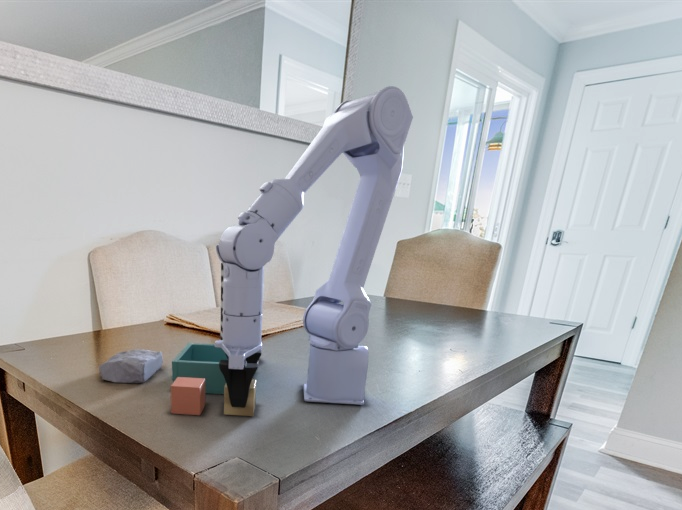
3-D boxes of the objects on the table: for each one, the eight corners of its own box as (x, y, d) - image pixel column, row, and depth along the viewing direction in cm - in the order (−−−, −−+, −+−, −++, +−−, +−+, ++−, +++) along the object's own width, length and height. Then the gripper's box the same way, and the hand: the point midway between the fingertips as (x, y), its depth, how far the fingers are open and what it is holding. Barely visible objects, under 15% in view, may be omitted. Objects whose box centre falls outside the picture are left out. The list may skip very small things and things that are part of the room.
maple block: (255, 405, 74) (256, 379, 72) (253, 416, 70) (254, 388, 68) (227, 403, 75) (228, 377, 73) (223, 414, 70) (224, 386, 69)
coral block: (205, 404, 74) (205, 378, 73) (200, 415, 70) (199, 387, 68) (178, 403, 75) (177, 376, 73) (171, 413, 71) (170, 385, 69)
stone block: (97, 390, 85) (147, 383, 83) (91, 365, 84) (141, 357, 81) (122, 373, 96) (167, 366, 94) (117, 350, 95) (162, 343, 92)
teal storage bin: (253, 372, 90) (254, 345, 88) (247, 395, 78) (248, 365, 76) (188, 369, 92) (188, 342, 90) (172, 391, 80) (171, 361, 78)
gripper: (222, 303, 74) (221, 383, 79) (206, 321, 61) (206, 416, 65) (266, 305, 73) (262, 386, 78) (260, 323, 60) (256, 420, 64)
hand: (240, 400), depth 72 cm, fingers closed on maple block, 4 cm apart
